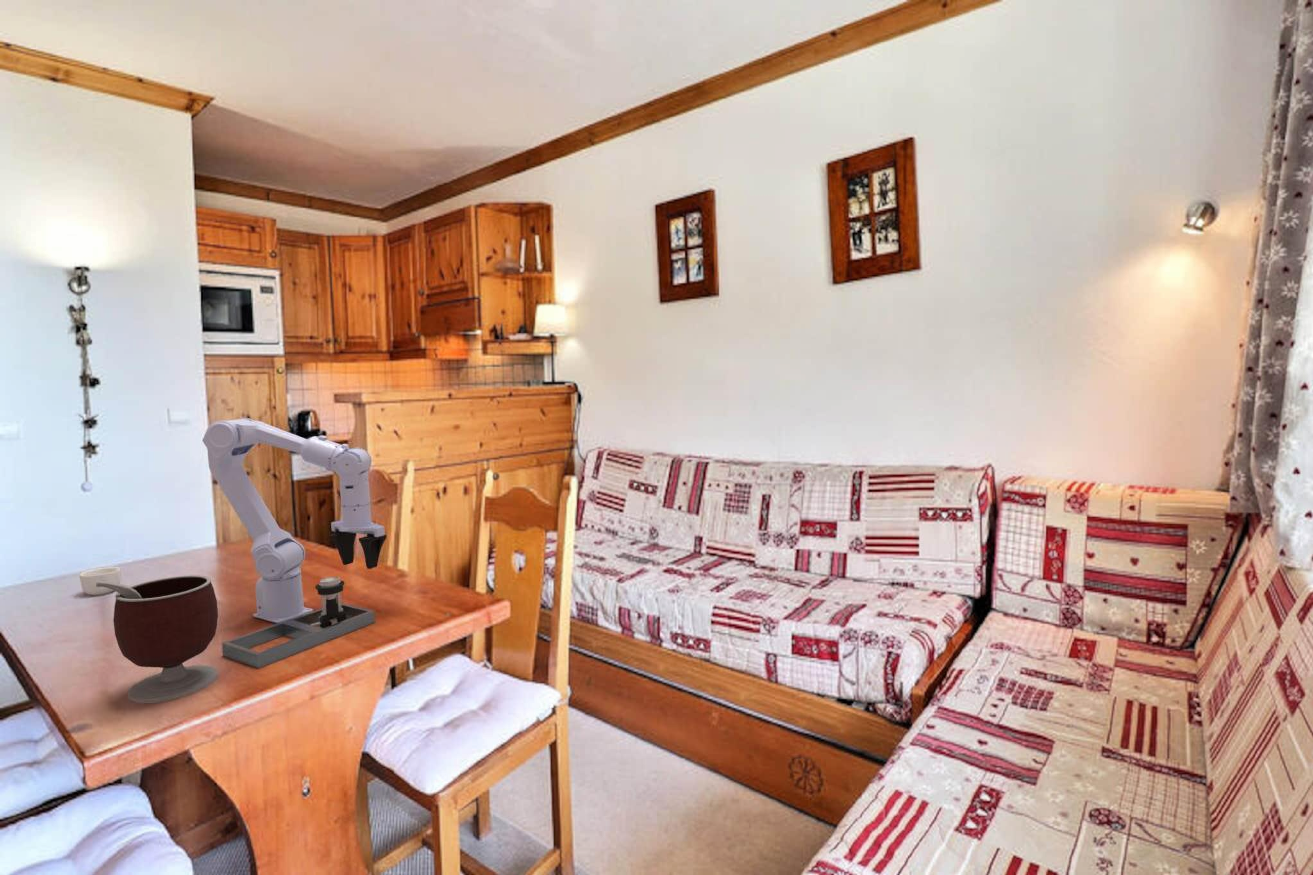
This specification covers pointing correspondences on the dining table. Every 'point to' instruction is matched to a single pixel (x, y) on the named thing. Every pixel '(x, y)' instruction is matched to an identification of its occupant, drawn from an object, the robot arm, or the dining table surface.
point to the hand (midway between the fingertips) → (360, 565)
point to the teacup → (99, 580)
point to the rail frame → (294, 636)
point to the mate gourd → (166, 633)
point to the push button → (330, 601)
